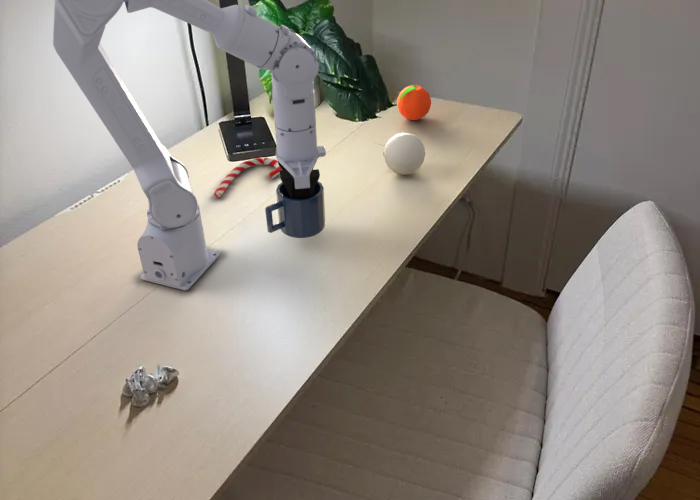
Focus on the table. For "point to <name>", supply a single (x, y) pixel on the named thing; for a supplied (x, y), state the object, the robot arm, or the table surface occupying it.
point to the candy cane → (243, 166)
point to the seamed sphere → (404, 153)
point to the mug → (298, 213)
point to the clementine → (414, 102)
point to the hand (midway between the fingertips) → (301, 206)
